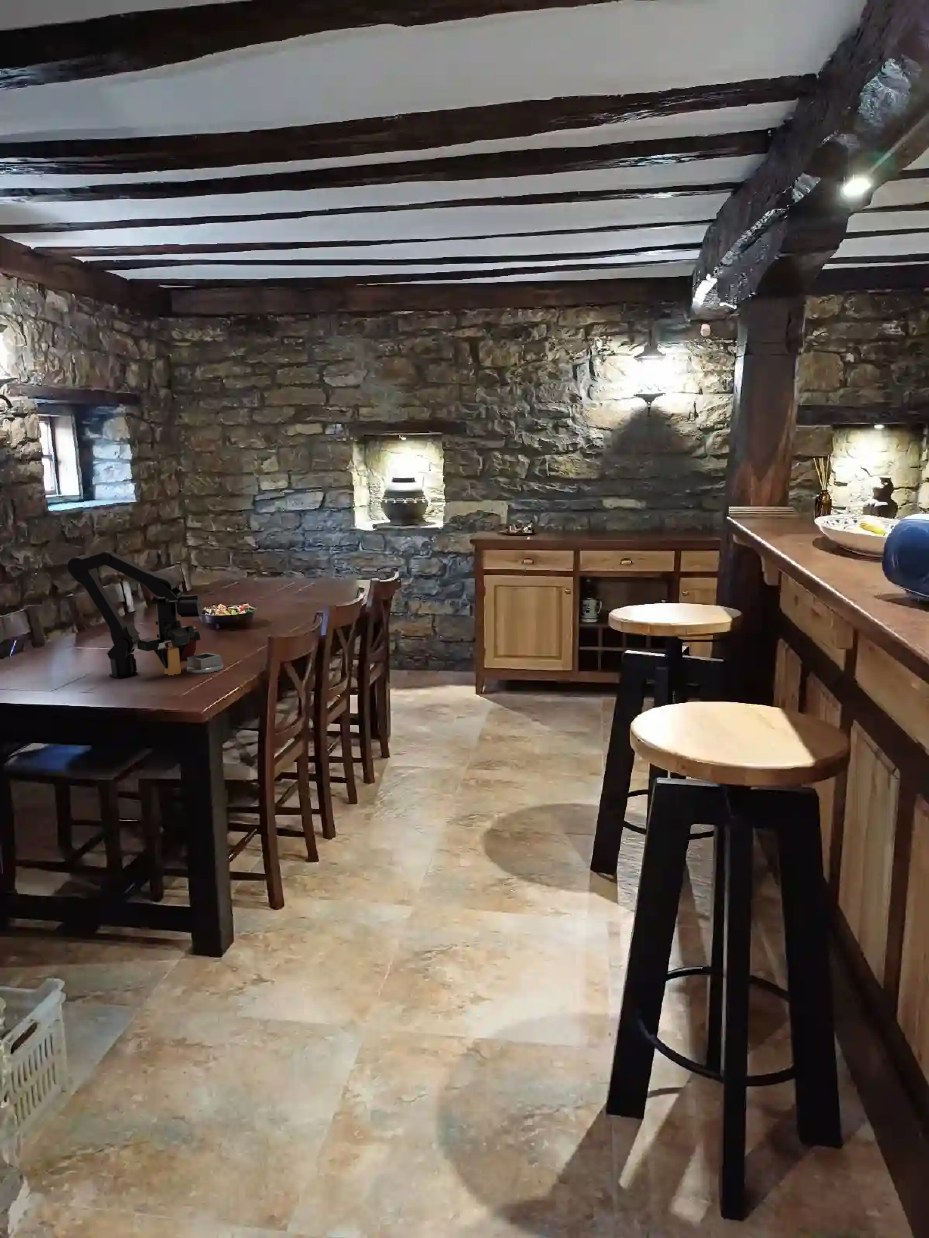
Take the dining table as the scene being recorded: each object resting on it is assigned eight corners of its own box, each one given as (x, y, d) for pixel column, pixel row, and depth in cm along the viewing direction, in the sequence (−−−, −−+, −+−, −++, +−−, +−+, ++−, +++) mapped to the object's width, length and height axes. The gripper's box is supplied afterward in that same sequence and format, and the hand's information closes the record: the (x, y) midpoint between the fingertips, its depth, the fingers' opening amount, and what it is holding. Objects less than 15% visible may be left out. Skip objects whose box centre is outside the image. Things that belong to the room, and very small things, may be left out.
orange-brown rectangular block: (170, 675, 272) (168, 650, 270) (164, 673, 274) (162, 648, 273) (180, 673, 275) (178, 648, 273) (174, 671, 277) (172, 646, 275)
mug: (163, 662, 289) (160, 632, 287) (168, 656, 297) (165, 627, 295) (197, 660, 290) (194, 630, 288) (200, 654, 298) (197, 625, 296)
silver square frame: (200, 675, 271) (199, 662, 270) (180, 670, 278) (178, 657, 277) (230, 668, 279) (229, 655, 278) (210, 663, 286) (209, 650, 285)
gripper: (154, 626, 259) (159, 677, 262) (208, 615, 273) (213, 664, 276) (133, 621, 266) (139, 672, 269) (188, 611, 280) (192, 659, 283)
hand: (172, 667), depth 274 cm, fingers closed on orange-brown rectangular block, 3 cm apart
